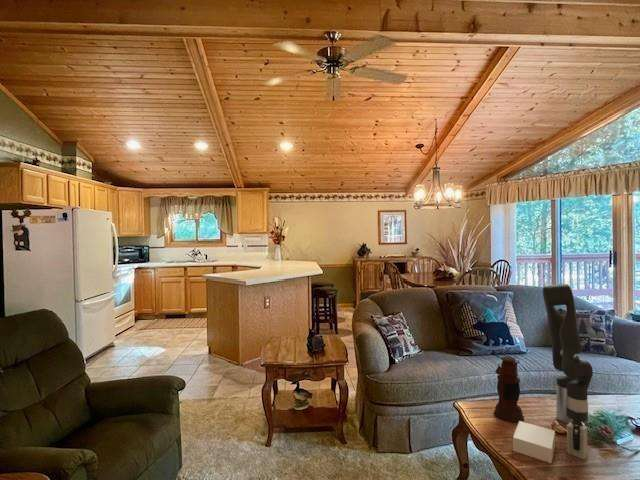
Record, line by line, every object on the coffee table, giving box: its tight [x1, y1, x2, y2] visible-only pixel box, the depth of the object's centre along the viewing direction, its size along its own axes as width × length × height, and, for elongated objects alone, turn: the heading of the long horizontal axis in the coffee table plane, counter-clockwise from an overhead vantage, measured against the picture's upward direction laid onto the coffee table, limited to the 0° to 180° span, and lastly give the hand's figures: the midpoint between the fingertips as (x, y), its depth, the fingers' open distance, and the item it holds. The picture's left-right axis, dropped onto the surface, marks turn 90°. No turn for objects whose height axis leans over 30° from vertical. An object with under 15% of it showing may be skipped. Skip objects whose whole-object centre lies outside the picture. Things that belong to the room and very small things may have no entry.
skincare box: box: [566, 422, 588, 460], centre depth 151 cm, size 6×4×12 cm
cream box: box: [512, 421, 556, 464], centre depth 157 cm, size 16×14×6 cm
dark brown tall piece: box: [493, 356, 525, 424], centre depth 182 cm, size 17×14×30 cm
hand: (576, 446), depth 151 cm, fingers closed on skincare box, 5 cm apart
